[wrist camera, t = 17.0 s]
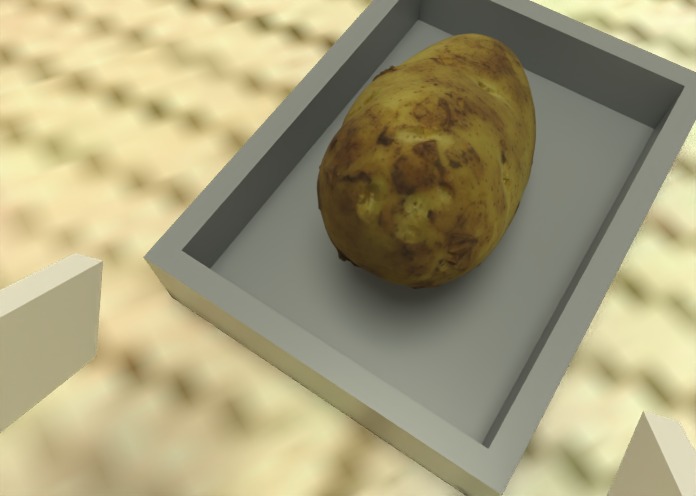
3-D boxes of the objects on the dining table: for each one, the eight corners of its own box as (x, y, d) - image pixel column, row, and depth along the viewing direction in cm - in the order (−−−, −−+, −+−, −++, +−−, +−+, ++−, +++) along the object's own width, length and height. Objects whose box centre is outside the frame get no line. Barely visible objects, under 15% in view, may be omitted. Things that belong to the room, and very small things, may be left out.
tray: (478, 503, 23) (501, 494, 19) (171, 296, 27) (143, 257, 23) (672, 136, 30) (715, 81, 27) (410, 15, 34) (416, -49, 30)
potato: (596, 169, 28) (679, 38, 21) (405, 364, 24) (427, 284, 17) (457, 71, 31) (489, -75, 24) (265, 232, 27) (233, 115, 20)
